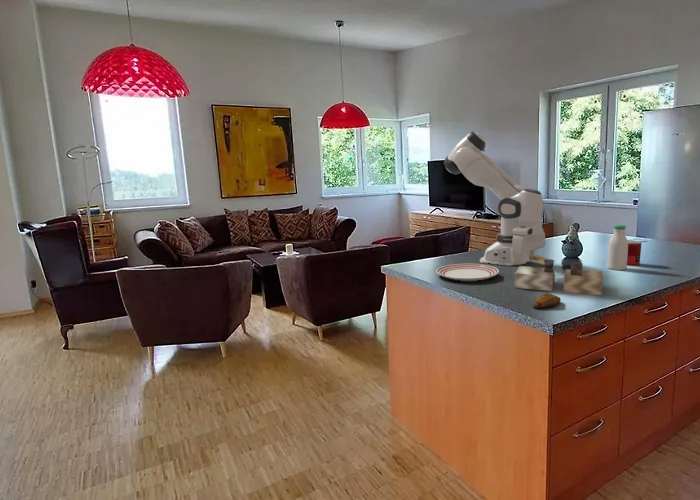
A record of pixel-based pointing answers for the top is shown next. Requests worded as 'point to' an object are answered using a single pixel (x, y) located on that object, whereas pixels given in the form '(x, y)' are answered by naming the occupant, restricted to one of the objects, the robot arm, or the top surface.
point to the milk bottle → (618, 249)
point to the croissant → (546, 301)
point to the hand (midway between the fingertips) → (528, 260)
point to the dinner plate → (467, 272)
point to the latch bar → (543, 260)
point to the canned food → (633, 253)
